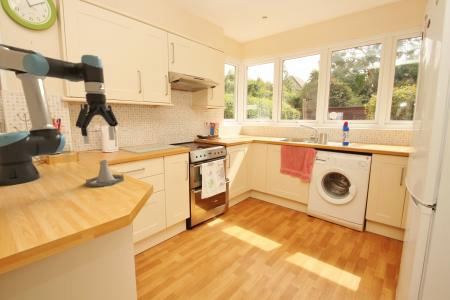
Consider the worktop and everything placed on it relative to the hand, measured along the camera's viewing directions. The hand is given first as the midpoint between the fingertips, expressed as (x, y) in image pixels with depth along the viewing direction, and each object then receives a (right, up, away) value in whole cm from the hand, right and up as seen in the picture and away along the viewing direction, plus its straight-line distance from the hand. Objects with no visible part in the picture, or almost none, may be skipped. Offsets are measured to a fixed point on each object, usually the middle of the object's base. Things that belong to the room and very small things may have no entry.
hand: (100, 141), depth 96 cm
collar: (+1, -18, +3) cm, 19 cm away
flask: (+1, -19, +3) cm, 19 cm away
